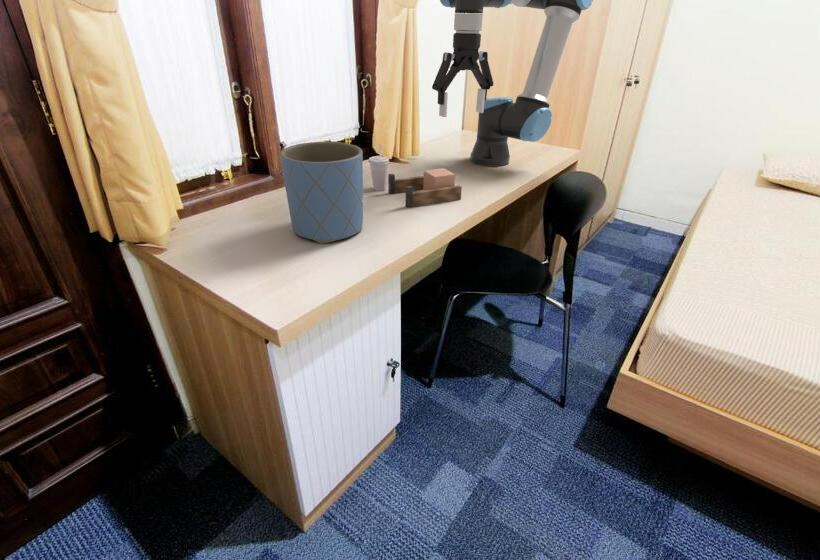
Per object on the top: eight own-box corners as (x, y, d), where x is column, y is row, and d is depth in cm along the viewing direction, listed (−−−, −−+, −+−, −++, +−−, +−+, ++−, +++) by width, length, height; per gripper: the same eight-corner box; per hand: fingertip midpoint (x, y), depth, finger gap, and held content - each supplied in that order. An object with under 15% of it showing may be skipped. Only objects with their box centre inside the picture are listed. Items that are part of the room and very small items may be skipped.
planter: (380, 230, 112) (379, 152, 102) (318, 253, 101) (309, 168, 90) (336, 209, 124) (331, 137, 113) (276, 228, 112) (264, 149, 102)
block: (442, 189, 141) (443, 168, 137) (453, 196, 135) (455, 174, 132) (423, 192, 138) (423, 170, 134) (433, 199, 133) (434, 177, 129)
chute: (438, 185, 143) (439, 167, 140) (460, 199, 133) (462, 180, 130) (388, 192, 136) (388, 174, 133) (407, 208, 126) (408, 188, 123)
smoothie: (386, 193, 136) (386, 147, 129) (367, 191, 137) (365, 146, 130) (391, 186, 142) (391, 142, 135) (372, 184, 143) (371, 141, 136)
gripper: (493, 31, 126) (486, 108, 137) (421, 31, 115) (419, 115, 126) (511, 32, 121) (502, 112, 132) (436, 32, 110) (433, 120, 121)
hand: (461, 114), depth 129 cm, fingers open, 13 cm apart
